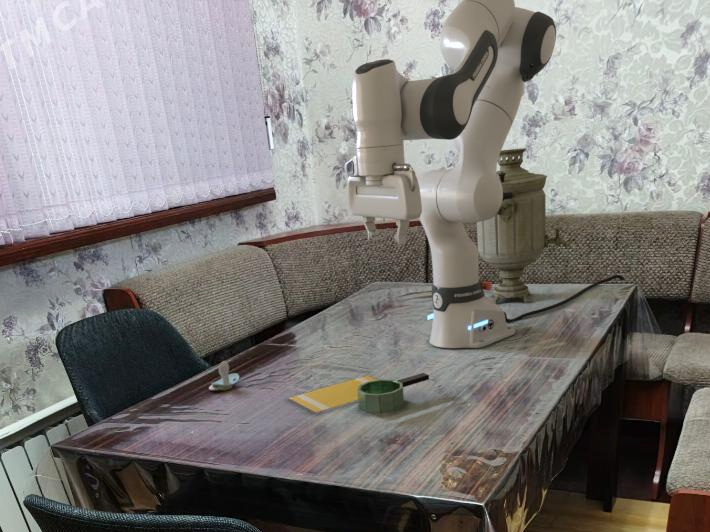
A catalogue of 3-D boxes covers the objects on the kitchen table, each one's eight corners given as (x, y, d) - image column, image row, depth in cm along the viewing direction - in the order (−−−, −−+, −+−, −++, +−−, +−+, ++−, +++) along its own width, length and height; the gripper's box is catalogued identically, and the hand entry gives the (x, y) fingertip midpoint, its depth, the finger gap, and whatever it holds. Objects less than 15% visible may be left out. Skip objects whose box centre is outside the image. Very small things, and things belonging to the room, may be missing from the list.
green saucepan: (413, 388, 151) (412, 368, 149) (440, 398, 145) (439, 378, 142) (350, 407, 144) (348, 387, 142) (375, 419, 137) (374, 398, 135)
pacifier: (203, 392, 161) (224, 394, 158) (197, 365, 158) (218, 366, 155) (223, 382, 166) (244, 383, 163) (217, 355, 163) (238, 356, 160)
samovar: (542, 314, 195) (547, 151, 175) (457, 309, 208) (453, 156, 188) (577, 290, 217) (586, 142, 196) (498, 287, 229) (499, 147, 209)
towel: (367, 377, 160) (366, 375, 160) (397, 389, 151) (397, 387, 151) (289, 400, 151) (288, 397, 151) (316, 414, 142) (316, 412, 142)
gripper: (428, 161, 126) (431, 243, 133) (366, 162, 142) (372, 236, 149) (399, 165, 124) (404, 249, 131) (339, 165, 139) (346, 240, 146)
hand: (386, 242), depth 140 cm, fingers open, 8 cm apart
